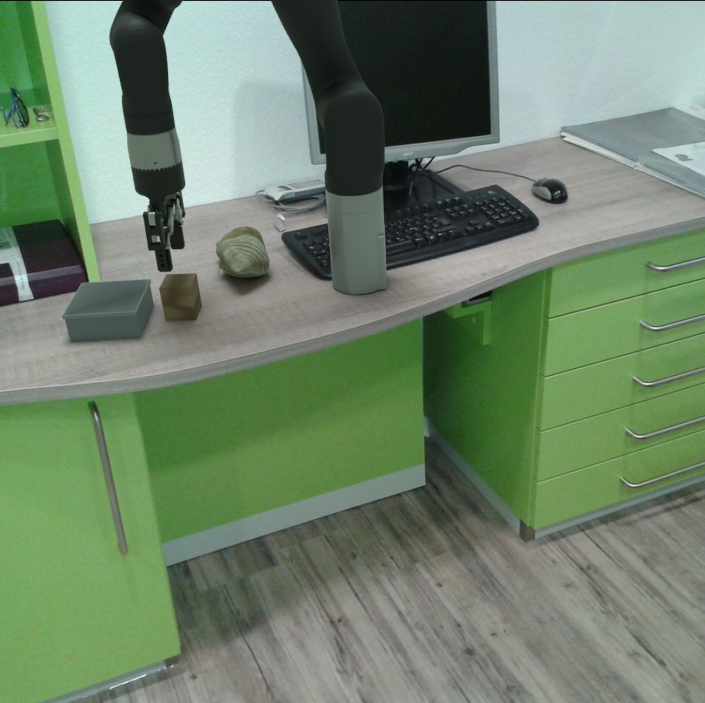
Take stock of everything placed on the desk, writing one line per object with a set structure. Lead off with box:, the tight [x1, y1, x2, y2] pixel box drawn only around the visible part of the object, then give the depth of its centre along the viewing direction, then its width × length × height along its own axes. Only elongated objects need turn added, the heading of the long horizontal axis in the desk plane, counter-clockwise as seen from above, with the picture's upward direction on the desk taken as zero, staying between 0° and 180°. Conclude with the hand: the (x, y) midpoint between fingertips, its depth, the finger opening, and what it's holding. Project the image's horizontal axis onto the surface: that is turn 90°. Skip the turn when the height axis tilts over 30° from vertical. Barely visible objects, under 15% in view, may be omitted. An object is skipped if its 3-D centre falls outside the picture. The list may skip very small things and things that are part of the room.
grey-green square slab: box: [61, 278, 155, 342], centre depth 133 cm, size 11×11×5 cm
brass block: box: [158, 272, 203, 322], centre depth 134 cm, size 5×5×6 cm
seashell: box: [215, 226, 270, 279], centre depth 146 cm, size 14×9×10 cm
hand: (172, 259), depth 131 cm, fingers open, 8 cm apart
